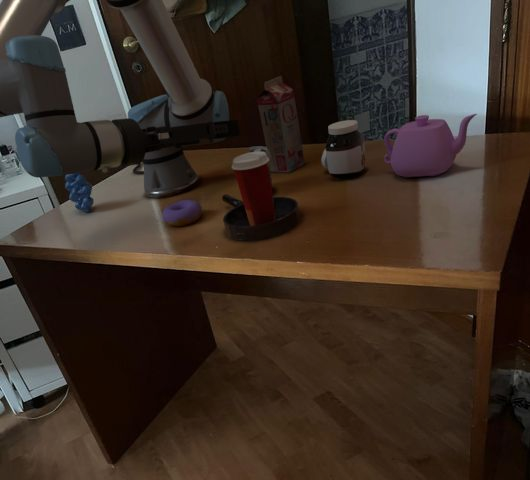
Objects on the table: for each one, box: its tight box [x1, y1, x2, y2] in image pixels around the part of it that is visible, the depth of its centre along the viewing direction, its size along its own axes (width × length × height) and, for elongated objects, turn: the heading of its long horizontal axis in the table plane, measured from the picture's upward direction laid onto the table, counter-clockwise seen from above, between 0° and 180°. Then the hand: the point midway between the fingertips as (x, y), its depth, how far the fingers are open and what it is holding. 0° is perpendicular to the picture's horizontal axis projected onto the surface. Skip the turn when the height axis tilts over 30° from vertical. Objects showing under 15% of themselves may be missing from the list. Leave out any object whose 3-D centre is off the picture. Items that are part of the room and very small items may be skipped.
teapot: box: [383, 113, 478, 178], centre depth 116 cm, size 20×13×12 cm, turn 64°
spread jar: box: [320, 119, 367, 180], centre depth 127 cm, size 12×11×12 cm
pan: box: [222, 196, 301, 242], centre depth 112 cm, size 16×16×3 cm
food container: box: [249, 145, 274, 194], centre depth 127 cm, size 12×6×10 cm, turn 168°
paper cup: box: [231, 151, 276, 226], centre depth 109 cm, size 8×8×14 cm
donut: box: [161, 199, 203, 227], centre depth 124 cm, size 10×9×5 cm
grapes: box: [64, 173, 94, 213], centre depth 145 cm, size 12×7×12 cm, turn 46°
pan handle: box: [221, 193, 244, 208], centre depth 122 cm, size 12×3×2 cm, turn 27°
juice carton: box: [256, 75, 306, 173], centre depth 138 cm, size 7×7×22 cm
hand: (216, 132), depth 102 cm, fingers open, 13 cm apart
